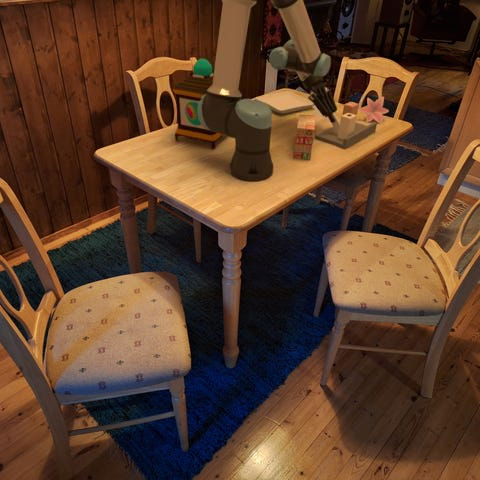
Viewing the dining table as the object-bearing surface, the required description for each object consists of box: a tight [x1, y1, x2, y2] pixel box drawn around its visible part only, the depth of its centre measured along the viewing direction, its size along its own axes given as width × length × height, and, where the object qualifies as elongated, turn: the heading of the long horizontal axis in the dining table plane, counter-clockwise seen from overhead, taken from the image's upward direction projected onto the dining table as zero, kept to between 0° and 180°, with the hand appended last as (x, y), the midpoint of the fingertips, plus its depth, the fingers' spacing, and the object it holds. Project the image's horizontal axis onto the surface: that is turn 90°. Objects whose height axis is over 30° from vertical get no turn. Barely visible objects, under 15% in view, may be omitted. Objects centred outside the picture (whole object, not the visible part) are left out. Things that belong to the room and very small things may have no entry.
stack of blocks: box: [293, 114, 316, 161], centre depth 158 cm, size 21×6×12 cm, turn 170°
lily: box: [358, 96, 389, 125], centre depth 184 cm, size 12×12×10 cm
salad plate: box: [254, 90, 315, 115], centre depth 197 cm, size 21×21×3 cm
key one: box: [338, 113, 358, 140], centre depth 163 cm, size 5×4×9 cm
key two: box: [341, 101, 360, 116], centre depth 174 cm, size 5×4×9 cm
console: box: [314, 121, 378, 150], centre depth 171 cm, size 24×14×4 cm, turn 137°
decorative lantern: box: [172, 58, 224, 150], centre depth 158 cm, size 20×20×30 cm
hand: (339, 128), depth 166 cm, fingers closed
